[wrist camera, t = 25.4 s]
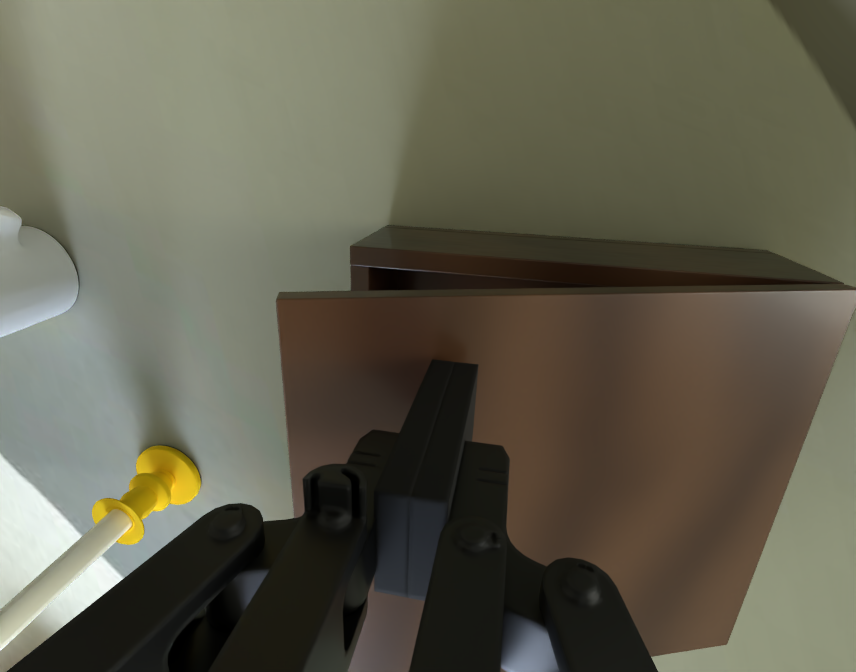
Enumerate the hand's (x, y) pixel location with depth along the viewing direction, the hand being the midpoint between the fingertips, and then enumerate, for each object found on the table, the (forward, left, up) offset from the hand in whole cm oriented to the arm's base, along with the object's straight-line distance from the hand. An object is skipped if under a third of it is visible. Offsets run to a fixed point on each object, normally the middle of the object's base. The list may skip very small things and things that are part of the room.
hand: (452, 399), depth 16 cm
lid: (+1, +7, -3) cm, 8 cm away
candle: (+28, -2, -13) cm, 32 cm away
